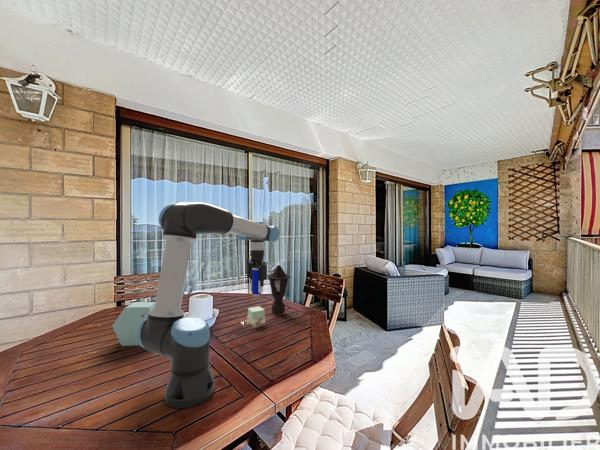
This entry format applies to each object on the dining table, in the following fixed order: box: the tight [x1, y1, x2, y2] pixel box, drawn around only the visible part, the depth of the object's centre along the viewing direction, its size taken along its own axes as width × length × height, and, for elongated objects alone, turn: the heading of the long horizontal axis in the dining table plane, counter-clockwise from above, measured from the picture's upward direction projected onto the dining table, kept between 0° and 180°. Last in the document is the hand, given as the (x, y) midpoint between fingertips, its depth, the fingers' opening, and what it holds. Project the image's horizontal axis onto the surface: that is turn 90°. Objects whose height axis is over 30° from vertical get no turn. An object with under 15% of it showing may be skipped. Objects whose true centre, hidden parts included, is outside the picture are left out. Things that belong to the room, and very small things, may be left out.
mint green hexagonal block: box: [112, 301, 155, 347], centre depth 120 cm, size 17×8×21 cm
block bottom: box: [246, 315, 266, 327], centre depth 142 cm, size 7×7×4 cm
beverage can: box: [251, 267, 262, 297], centre depth 142 cm, size 5×5×15 cm
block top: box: [247, 306, 266, 320], centre depth 142 cm, size 7×7×4 cm
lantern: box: [267, 264, 291, 315], centre depth 159 cm, size 15×15×30 cm
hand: (256, 291), depth 142 cm, fingers closed on beverage can, 5 cm apart
